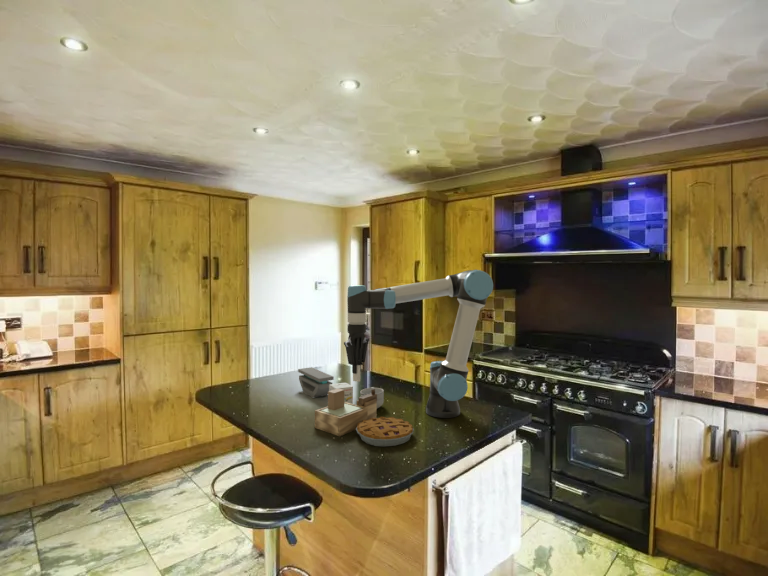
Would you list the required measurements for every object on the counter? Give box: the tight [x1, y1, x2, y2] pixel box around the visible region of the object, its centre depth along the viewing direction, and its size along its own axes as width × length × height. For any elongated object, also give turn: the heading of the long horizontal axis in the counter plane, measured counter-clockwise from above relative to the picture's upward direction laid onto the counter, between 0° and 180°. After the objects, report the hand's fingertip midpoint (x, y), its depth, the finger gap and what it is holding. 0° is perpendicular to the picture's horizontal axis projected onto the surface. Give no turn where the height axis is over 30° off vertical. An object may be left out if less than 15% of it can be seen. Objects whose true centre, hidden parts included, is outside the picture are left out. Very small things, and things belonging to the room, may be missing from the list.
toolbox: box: [314, 399, 378, 437], centre depth 173 cm, size 14×23×9 cm, turn 142°
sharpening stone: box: [297, 366, 335, 399], centre depth 217 cm, size 25×8×11 cm, turn 35°
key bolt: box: [358, 389, 377, 406], centre depth 178 cm, size 2×9×5 cm, turn 142°
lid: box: [321, 388, 362, 417], centre depth 170 cm, size 11×13×8 cm
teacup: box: [359, 386, 385, 409], centre depth 197 cm, size 14×11×8 cm
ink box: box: [329, 382, 354, 404], centre depth 190 cm, size 8×8×12 cm
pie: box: [355, 416, 415, 447], centre depth 160 cm, size 22×22×5 cm
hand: (356, 380), depth 172 cm, fingers closed
